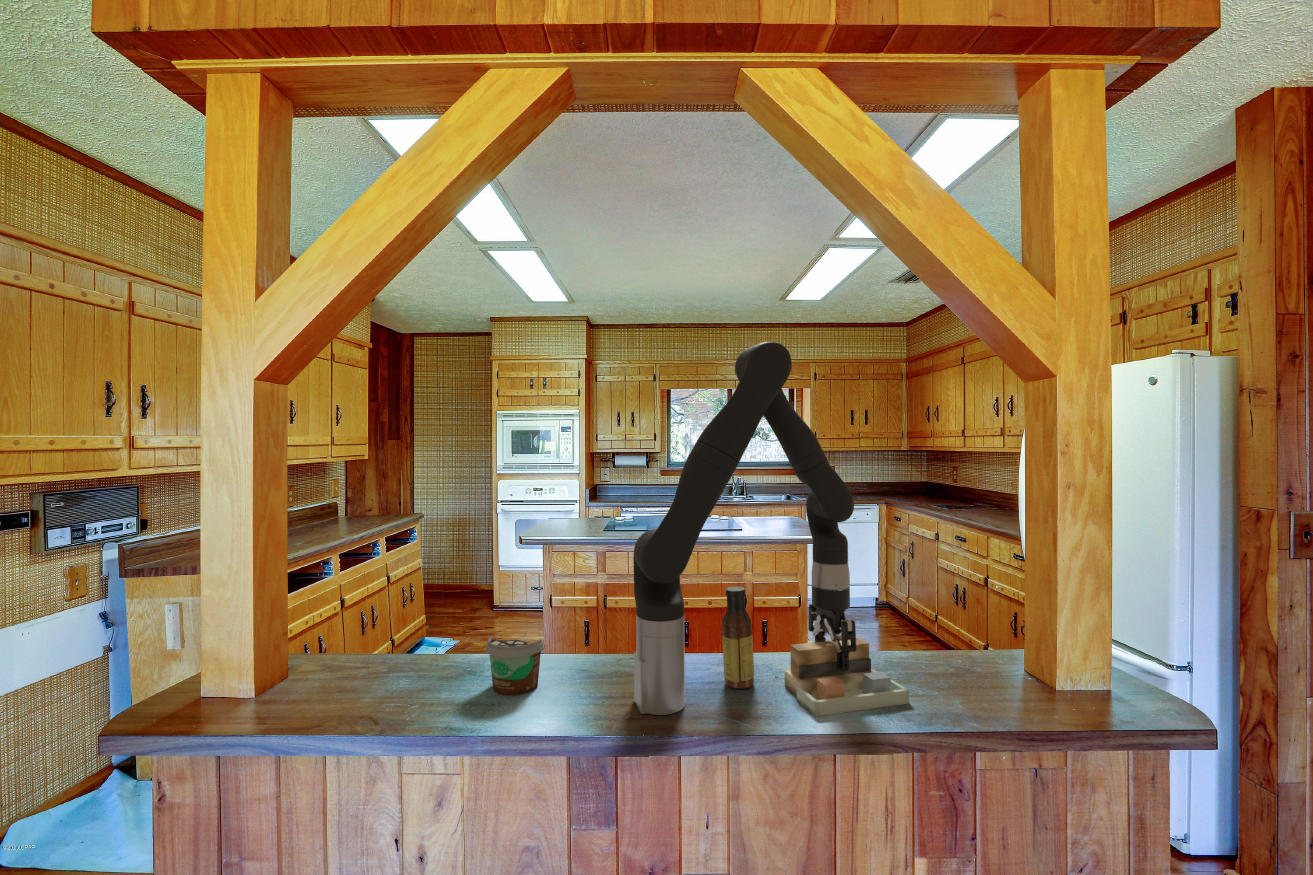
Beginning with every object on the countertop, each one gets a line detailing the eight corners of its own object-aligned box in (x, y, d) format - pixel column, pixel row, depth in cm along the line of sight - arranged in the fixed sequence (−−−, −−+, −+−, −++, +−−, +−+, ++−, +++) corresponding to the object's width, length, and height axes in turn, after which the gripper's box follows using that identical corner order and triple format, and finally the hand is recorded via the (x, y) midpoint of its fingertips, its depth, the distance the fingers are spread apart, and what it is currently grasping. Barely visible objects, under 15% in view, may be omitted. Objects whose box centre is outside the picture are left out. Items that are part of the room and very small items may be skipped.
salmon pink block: (817, 700, 112) (825, 706, 109) (816, 679, 112) (825, 685, 109) (835, 697, 113) (844, 704, 110) (835, 676, 113) (844, 682, 110)
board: (801, 699, 113) (801, 683, 113) (784, 684, 120) (784, 670, 120) (881, 688, 118) (881, 674, 118) (861, 675, 125) (861, 661, 125)
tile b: (863, 694, 114) (872, 700, 111) (863, 673, 114) (872, 679, 111) (881, 691, 115) (890, 698, 112) (880, 671, 115) (890, 677, 112)
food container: (474, 694, 116) (473, 644, 117) (490, 682, 122) (489, 634, 123) (530, 700, 114) (530, 649, 114) (544, 687, 120) (544, 639, 120)
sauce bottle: (753, 678, 124) (752, 584, 124) (755, 690, 117) (754, 592, 118) (722, 677, 124) (721, 584, 124) (722, 689, 118) (722, 591, 118)
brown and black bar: (800, 679, 116) (800, 651, 116) (790, 671, 119) (790, 644, 120) (871, 670, 120) (870, 644, 120) (859, 663, 123) (859, 637, 124)
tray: (815, 716, 106) (815, 702, 106) (796, 699, 113) (796, 687, 113) (909, 703, 111) (909, 690, 111) (886, 688, 118) (886, 676, 118)
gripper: (797, 577, 126) (797, 652, 125) (833, 593, 112) (833, 678, 112) (828, 574, 128) (829, 649, 127) (867, 590, 114) (868, 673, 114)
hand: (831, 662), depth 120 cm, fingers open, 8 cm apart
